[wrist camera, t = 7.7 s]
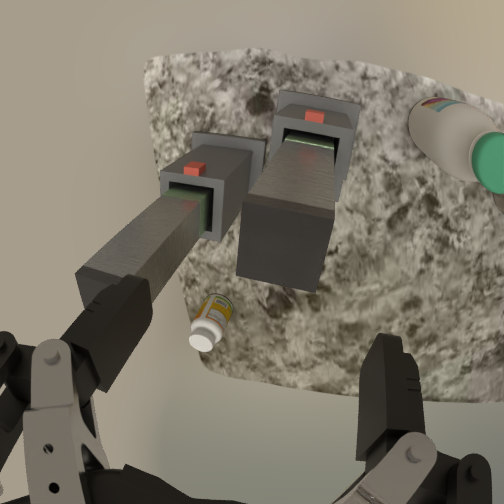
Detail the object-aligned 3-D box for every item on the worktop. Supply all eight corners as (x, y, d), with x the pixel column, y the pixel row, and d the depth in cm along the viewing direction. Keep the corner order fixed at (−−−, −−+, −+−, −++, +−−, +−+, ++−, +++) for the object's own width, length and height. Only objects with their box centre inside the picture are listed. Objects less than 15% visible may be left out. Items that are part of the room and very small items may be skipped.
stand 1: (266, 140, 41) (240, 168, 30) (258, 208, 46) (233, 256, 35) (195, 131, 42) (147, 155, 31) (192, 196, 47) (151, 238, 37)
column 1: (226, 174, 37) (122, 288, 19) (224, 205, 39) (132, 333, 21) (194, 169, 37) (74, 273, 19) (193, 200, 40) (86, 316, 21)
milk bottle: (445, 165, 36) (510, 232, 19) (397, 136, 36) (441, 182, 19) (470, 117, 32) (554, 153, 15) (422, 85, 32) (487, 91, 15)
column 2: (333, 131, 31) (334, 219, 13) (326, 166, 34) (315, 293, 16) (295, 124, 32) (242, 201, 14) (290, 159, 34) (235, 275, 16)
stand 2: (360, 104, 35) (373, 117, 25) (345, 177, 41) (349, 219, 30) (280, 89, 37) (259, 96, 26) (271, 162, 42) (248, 198, 31)
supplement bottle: (209, 316, 60) (191, 354, 52) (200, 293, 57) (180, 330, 49) (236, 316, 58) (220, 356, 50) (229, 292, 56) (211, 332, 48)
